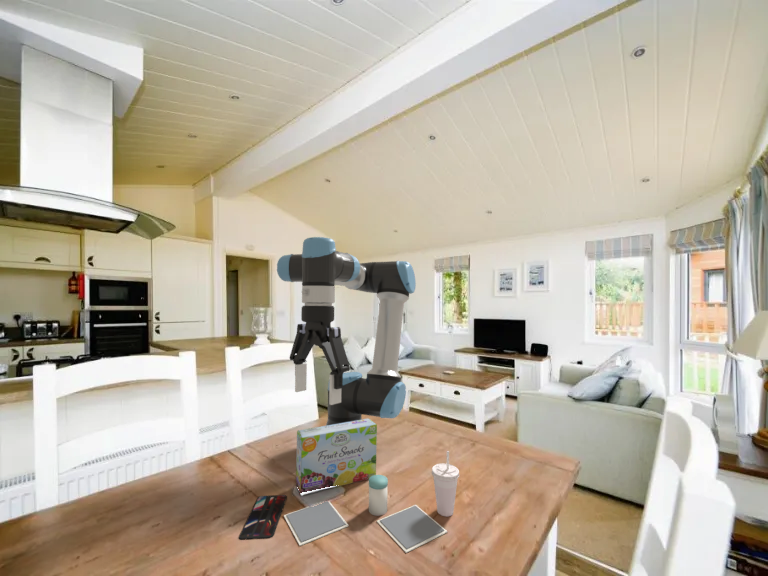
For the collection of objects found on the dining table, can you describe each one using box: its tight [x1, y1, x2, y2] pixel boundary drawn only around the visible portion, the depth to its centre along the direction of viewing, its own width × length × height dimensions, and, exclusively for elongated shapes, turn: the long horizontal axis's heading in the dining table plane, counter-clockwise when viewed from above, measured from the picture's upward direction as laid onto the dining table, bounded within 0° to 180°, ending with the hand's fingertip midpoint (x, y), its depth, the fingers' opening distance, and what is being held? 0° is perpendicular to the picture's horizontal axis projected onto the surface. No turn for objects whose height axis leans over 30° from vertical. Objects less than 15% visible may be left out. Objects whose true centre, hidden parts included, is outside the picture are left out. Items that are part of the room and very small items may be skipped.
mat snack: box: [283, 500, 349, 547], centre depth 76 cm, size 11×11×1 cm
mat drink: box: [376, 504, 448, 554], centre depth 74 cm, size 11×11×1 cm
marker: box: [368, 474, 389, 517], centre depth 80 cm, size 4×4×7 cm
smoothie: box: [431, 450, 460, 517], centre depth 80 cm, size 6×6×14 cm
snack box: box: [295, 418, 378, 494], centre depth 92 cm, size 21×6×15 cm, turn 117°
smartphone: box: [238, 494, 288, 541], centre depth 78 cm, size 7×1×15 cm
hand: (316, 396), depth 79 cm, fingers open, 13 cm apart
